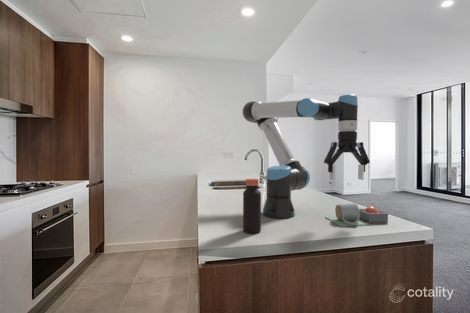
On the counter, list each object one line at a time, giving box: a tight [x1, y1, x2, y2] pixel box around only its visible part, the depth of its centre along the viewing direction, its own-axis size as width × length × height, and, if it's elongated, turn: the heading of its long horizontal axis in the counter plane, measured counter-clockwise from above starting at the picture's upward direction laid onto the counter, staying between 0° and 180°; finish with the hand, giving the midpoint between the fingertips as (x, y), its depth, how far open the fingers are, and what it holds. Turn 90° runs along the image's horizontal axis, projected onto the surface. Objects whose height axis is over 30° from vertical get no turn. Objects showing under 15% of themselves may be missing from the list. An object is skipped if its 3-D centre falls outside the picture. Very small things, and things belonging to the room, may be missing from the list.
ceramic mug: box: [334, 202, 360, 225], centre depth 103 cm, size 11×8×8 cm
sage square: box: [324, 215, 371, 227], centre depth 106 cm, size 13×13×1 cm
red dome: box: [363, 205, 380, 214], centre depth 107 cm, size 6×6×5 cm
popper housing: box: [359, 208, 389, 224], centre depth 107 cm, size 9×9×4 cm
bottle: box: [242, 178, 262, 235], centre depth 92 cm, size 7×7×20 cm
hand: (346, 179), depth 105 cm, fingers open, 13 cm apart
